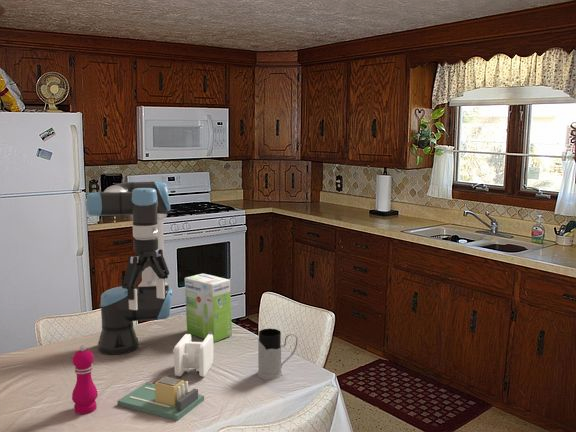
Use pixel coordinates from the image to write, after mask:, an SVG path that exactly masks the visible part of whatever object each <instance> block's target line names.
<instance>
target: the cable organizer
mask: <svg viewBox="0 0 576 432" xmlns="http://www.w3.org/2000/svg"><path fill="white" fill-rule="evenodd" d="M173 347H174V348H173V349H172V353H173V354H174V355H173V359H174V366H173V367H174V376H175V377H182V376H183V374H184V372H185V371H186V372H187V373H189V369H195V373H197V372H199V373H198V375H199V377H202V378H204V377H206V375H207V373H208V372H209V370H210V368H211V367H212V365H213V363H214V342H213V335H212V334H208V335H207V337H206V338H205V339H204V340H203V341H192V334H189V333H185V334H184V335H183V336H182V338H180V339H179V341H178V342H177V343H176V344H175V346H173Z"/></svg>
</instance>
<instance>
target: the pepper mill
mask: <svg viewBox="0 0 576 432" xmlns="http://www.w3.org/2000/svg"><path fill="white" fill-rule="evenodd" d="M86 347H87V346H86V345H80V346H79V350H78V351H76V352H75V353H74V354H73V355H72V358H71V360H72V364H73V365H74V373H75V374H76V383H75V385H74V388H73V390H72V394H71V399H72V402H73V403H74V405H73V409H74V413H76V414H78V415H87V414H90V413H92V412H94V411H96V410H97V401H96V400H97V398H98V389H97V387H96V385H95V383H94V382H93V379H92V372H93V371H94V370H93V369H94V368H93V363H94V360H95V358H94V357H95V356H94V353H93V352H92V351H91V350H89V349H86Z"/></svg>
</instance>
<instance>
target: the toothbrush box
mask: <svg viewBox="0 0 576 432" xmlns="http://www.w3.org/2000/svg"><path fill="white" fill-rule="evenodd" d="M184 287H185V288H184V290H185V291H184V293H185V294H184V295H185V311H186V312H185V314H186V315H185V316H186V334H191V336H196V337H197V338H201V339H204V340H205V338H206V337H207V335H208V334H212V335H213V343H216V342H218V341H220V340H223V339H226V338H229V337H231V336H233V332H232V331H233V328H232V300H231V297H232V294H231V293H232V292H231V279H228V278H224V277H219V276H216V275H212V274H207V273H199V274H195V275H191V276H186V277H184Z"/></svg>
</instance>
